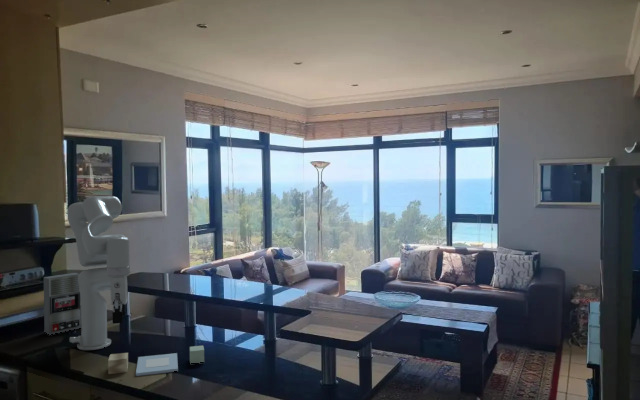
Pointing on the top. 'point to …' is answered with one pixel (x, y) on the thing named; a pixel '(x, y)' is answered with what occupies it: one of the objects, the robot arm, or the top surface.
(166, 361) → the board
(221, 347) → the top surface
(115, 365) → the birch block
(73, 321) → the cassette tape recorder
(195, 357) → the sage block
